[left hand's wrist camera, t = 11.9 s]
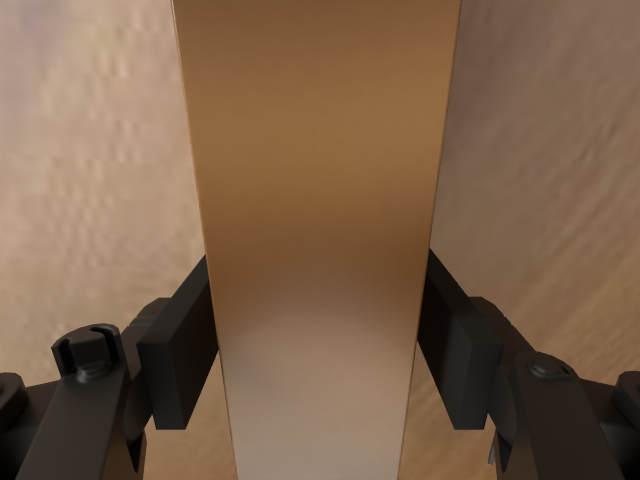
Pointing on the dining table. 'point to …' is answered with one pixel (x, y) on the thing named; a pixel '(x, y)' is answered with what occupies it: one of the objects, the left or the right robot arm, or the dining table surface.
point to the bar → (316, 216)
